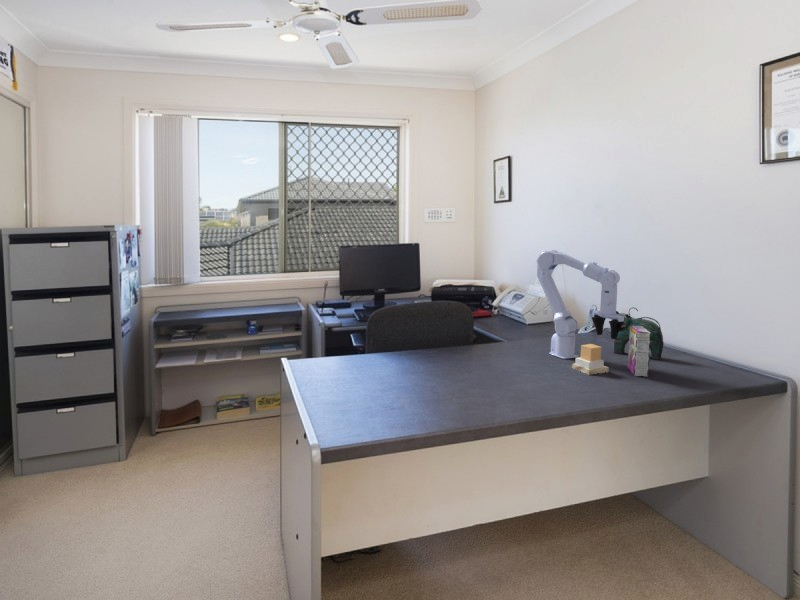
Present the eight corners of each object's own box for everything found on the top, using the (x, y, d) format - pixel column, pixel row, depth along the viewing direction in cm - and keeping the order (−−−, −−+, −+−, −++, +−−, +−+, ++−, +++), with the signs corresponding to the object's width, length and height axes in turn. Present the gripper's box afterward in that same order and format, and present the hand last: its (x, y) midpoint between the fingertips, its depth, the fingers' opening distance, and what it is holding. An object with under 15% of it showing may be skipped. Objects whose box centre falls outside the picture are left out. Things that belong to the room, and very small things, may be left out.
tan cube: (580, 358, 194) (581, 345, 194) (590, 356, 197) (591, 343, 196) (590, 361, 190) (591, 348, 189) (600, 360, 192) (601, 346, 191)
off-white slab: (575, 364, 196) (575, 357, 195) (589, 362, 198) (590, 356, 198) (588, 369, 189) (589, 362, 189) (603, 367, 192) (603, 360, 192)
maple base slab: (571, 370, 197) (572, 363, 196) (590, 367, 200) (591, 361, 200) (588, 376, 189) (589, 369, 188) (608, 373, 192) (608, 367, 192)
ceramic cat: (608, 353, 220) (611, 306, 217) (614, 350, 224) (616, 304, 221) (659, 361, 207) (663, 311, 204) (664, 358, 212) (667, 309, 209)
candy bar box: (626, 368, 197) (629, 325, 195) (640, 368, 196) (643, 325, 194) (633, 376, 186) (636, 331, 184) (648, 377, 185) (651, 332, 183)
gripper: (587, 300, 206) (585, 333, 208) (614, 305, 193) (612, 341, 195) (601, 299, 209) (599, 332, 211) (629, 304, 195) (626, 339, 197)
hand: (606, 336), depth 203 cm, fingers open, 7 cm apart
